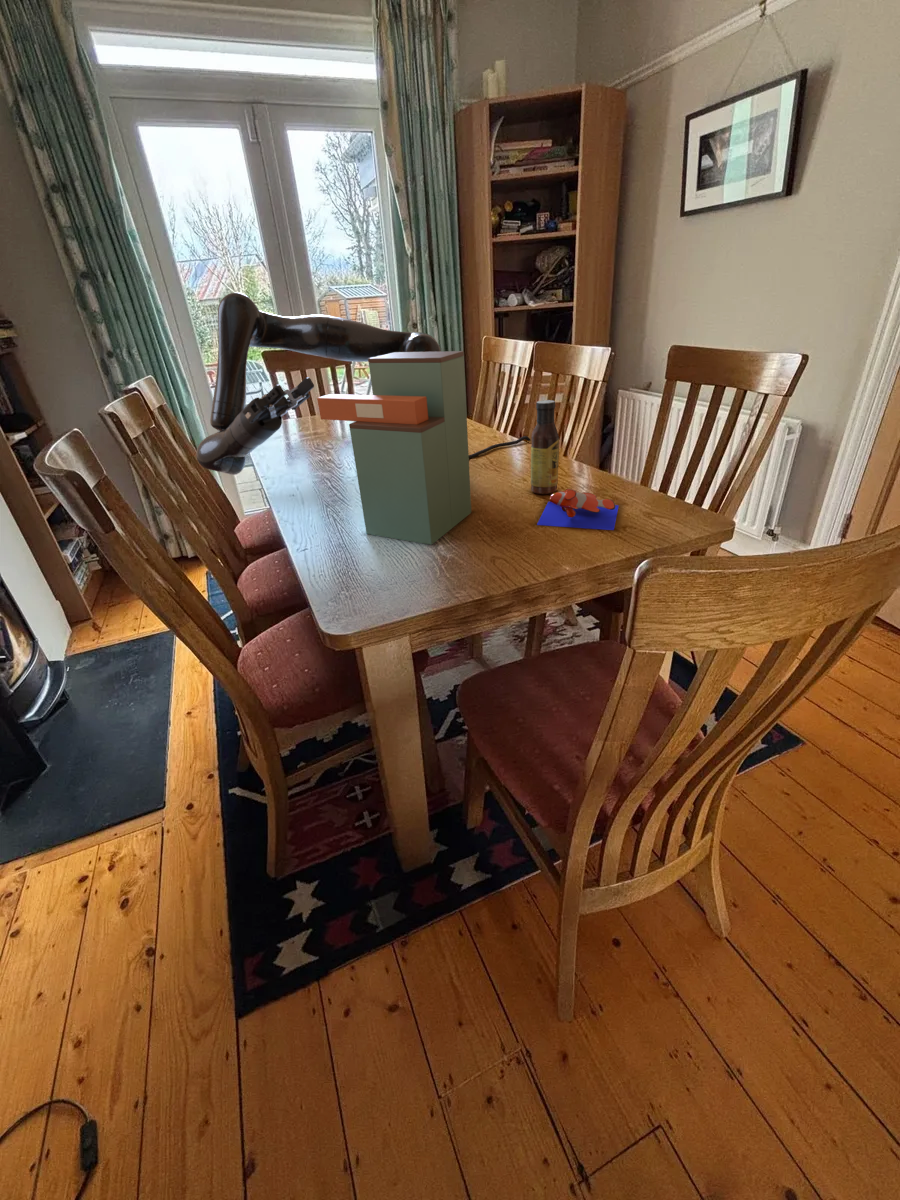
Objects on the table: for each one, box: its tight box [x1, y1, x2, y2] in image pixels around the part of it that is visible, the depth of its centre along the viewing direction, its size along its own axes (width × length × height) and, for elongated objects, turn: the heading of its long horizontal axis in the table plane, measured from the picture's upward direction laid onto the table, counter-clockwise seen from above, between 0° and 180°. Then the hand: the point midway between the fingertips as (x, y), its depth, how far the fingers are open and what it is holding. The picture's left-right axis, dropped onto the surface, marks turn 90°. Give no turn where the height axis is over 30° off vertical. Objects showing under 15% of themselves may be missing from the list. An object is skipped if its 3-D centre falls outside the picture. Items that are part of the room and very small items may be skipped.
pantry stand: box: [348, 350, 472, 546], centre depth 103 cm, size 16×18×32 cm
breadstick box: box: [316, 393, 428, 425], centre depth 98 cm, size 22×4×4 cm, turn 62°
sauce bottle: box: [530, 399, 560, 495], centre depth 118 cm, size 7×6×20 cm
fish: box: [548, 488, 617, 518], centre depth 108 cm, size 13×5×9 cm
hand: (296, 385), depth 105 cm, fingers open, 8 cm apart
